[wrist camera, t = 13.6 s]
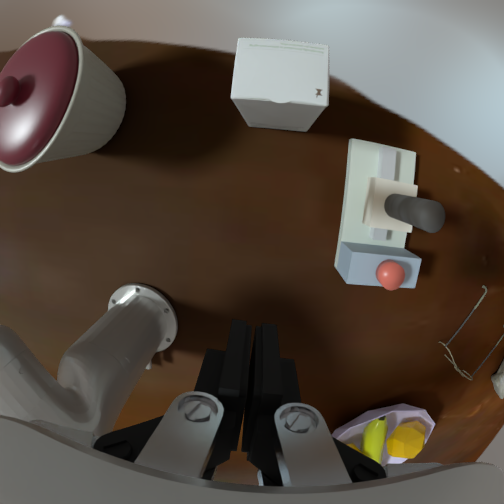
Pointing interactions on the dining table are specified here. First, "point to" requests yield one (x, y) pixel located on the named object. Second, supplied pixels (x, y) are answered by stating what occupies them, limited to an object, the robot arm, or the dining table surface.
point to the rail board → (352, 229)
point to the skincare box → (280, 82)
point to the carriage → (400, 207)
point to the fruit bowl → (388, 433)
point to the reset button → (390, 274)
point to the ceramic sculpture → (499, 381)
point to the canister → (56, 101)
